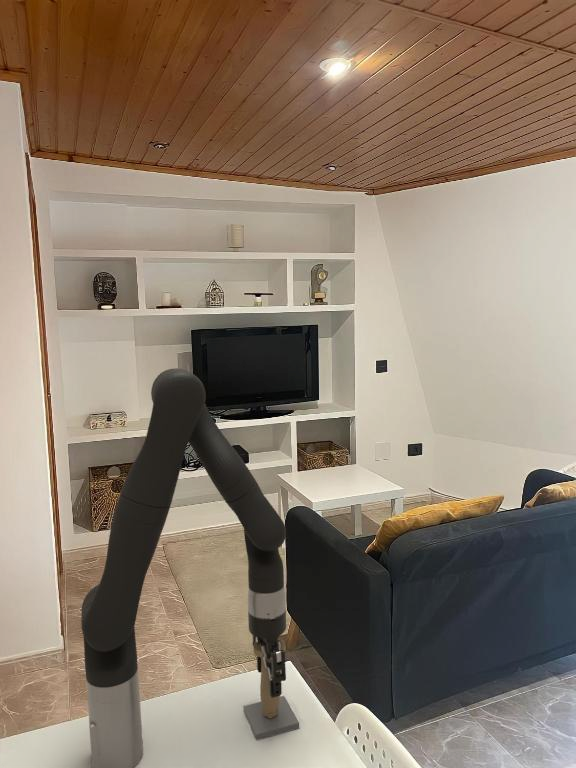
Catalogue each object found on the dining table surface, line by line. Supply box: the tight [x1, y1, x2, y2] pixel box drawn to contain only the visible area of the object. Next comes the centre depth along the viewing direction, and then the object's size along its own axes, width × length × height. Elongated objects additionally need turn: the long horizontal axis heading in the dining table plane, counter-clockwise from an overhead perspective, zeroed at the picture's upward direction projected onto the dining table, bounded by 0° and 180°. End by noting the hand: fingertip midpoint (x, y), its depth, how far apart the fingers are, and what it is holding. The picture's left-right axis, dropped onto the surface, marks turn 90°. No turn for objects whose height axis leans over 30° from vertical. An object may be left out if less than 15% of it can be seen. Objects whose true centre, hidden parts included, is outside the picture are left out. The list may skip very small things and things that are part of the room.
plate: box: [242, 695, 300, 741], centre depth 120 cm, size 9×9×1 cm
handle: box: [253, 639, 287, 718], centre depth 119 cm, size 5×6×15 cm
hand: (269, 683), depth 119 cm, fingers open, 8 cm apart
